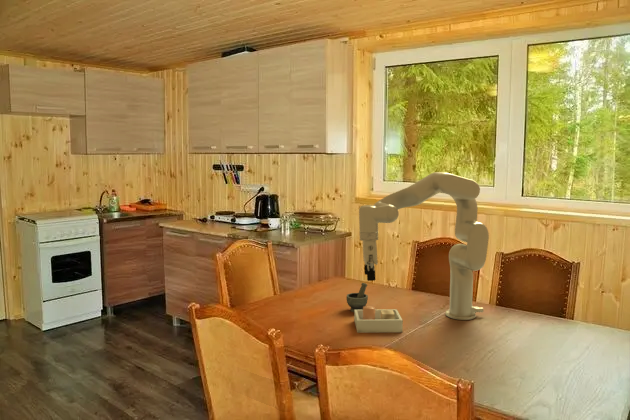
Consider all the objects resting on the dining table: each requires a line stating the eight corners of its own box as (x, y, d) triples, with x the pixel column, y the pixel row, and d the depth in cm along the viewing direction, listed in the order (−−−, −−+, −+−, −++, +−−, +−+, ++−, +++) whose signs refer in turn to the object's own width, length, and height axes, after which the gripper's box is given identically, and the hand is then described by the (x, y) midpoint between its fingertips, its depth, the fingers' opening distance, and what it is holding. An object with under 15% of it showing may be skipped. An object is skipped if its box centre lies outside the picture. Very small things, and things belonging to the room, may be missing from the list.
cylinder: (374, 322, 215) (375, 306, 214) (374, 326, 210) (375, 310, 209) (362, 321, 215) (363, 305, 214) (362, 325, 211) (362, 309, 210)
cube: (392, 322, 215) (392, 310, 215) (394, 326, 210) (394, 314, 210) (380, 322, 215) (380, 310, 215) (382, 326, 210) (382, 314, 210)
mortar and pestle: (357, 315, 228) (357, 288, 226) (342, 310, 234) (342, 284, 233) (374, 309, 235) (374, 283, 234) (358, 305, 242) (358, 280, 241)
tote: (396, 320, 220) (396, 309, 219) (402, 332, 206) (402, 320, 205) (354, 321, 220) (354, 309, 219) (357, 332, 206) (357, 320, 205)
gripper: (381, 239, 200) (382, 282, 202) (375, 232, 217) (376, 271, 219) (361, 240, 200) (362, 283, 202) (357, 232, 217) (358, 272, 219)
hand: (369, 277), depth 211 cm, fingers open, 9 cm apart
